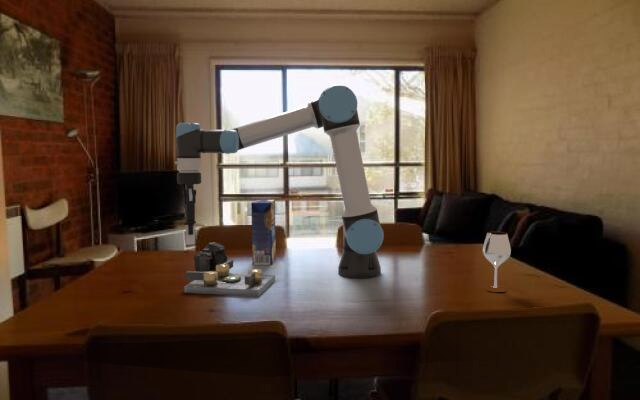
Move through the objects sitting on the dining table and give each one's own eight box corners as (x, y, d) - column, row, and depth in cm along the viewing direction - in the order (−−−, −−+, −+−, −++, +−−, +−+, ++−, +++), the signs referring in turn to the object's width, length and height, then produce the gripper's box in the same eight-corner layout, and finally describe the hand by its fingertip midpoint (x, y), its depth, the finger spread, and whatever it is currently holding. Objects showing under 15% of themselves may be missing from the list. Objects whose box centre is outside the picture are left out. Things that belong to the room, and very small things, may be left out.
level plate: (275, 280, 162) (275, 271, 162) (258, 296, 144) (258, 286, 144) (208, 277, 167) (207, 268, 166) (183, 292, 149) (183, 283, 148)
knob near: (220, 281, 153) (219, 270, 153) (214, 285, 149) (214, 274, 149) (190, 279, 155) (189, 269, 155) (183, 283, 151) (183, 273, 150)
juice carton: (271, 265, 185) (270, 202, 182) (252, 264, 185) (251, 202, 183) (275, 258, 197) (275, 199, 194) (257, 258, 197) (256, 199, 195)
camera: (217, 275, 171) (217, 247, 170) (191, 273, 173) (191, 246, 172) (232, 266, 184) (231, 240, 183) (208, 265, 186) (207, 239, 185)
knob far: (226, 276, 159) (226, 266, 158) (214, 276, 160) (213, 266, 159) (237, 269, 169) (237, 259, 168) (225, 268, 169) (225, 259, 169)
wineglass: (496, 295, 145) (498, 236, 143) (475, 288, 152) (477, 232, 150) (515, 291, 149) (517, 234, 147) (494, 285, 156) (496, 230, 154)
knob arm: (250, 278, 157) (250, 268, 156) (263, 279, 156) (263, 268, 155) (240, 287, 147) (239, 276, 146) (254, 287, 146) (253, 276, 145)
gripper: (176, 170, 159) (177, 241, 162) (177, 172, 147) (179, 248, 149) (199, 170, 162) (200, 240, 164) (202, 172, 149) (204, 247, 152)
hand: (190, 244), depth 157 cm, fingers closed
